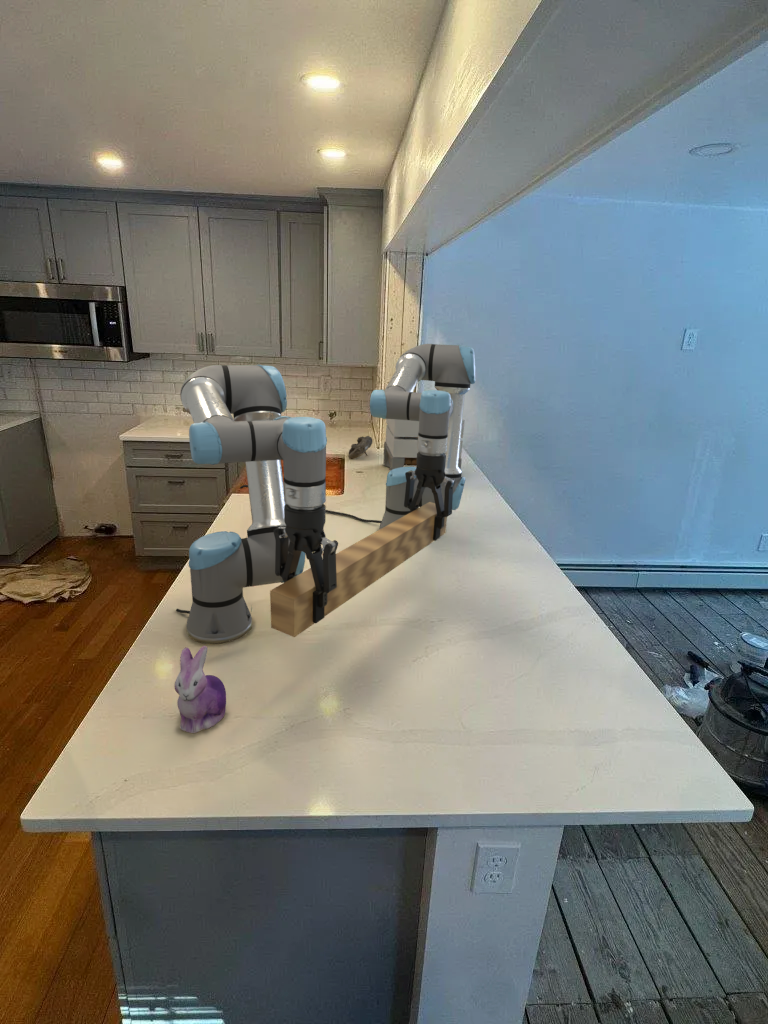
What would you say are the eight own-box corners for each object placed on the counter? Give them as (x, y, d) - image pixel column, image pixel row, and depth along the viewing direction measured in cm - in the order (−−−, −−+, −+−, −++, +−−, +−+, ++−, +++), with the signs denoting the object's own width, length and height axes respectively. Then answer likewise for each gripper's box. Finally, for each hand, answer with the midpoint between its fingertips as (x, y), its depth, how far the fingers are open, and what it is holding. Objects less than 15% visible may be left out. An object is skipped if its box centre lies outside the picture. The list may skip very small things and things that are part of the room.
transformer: (382, 463, 289) (386, 382, 275) (445, 464, 293) (451, 384, 279) (390, 482, 257) (394, 392, 243) (460, 483, 261) (468, 394, 247)
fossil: (348, 442, 312) (369, 426, 307) (359, 455, 315) (380, 440, 310) (341, 456, 292) (364, 439, 287) (353, 470, 295) (376, 454, 290)
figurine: (181, 742, 101) (174, 672, 96) (173, 708, 110) (166, 641, 105) (234, 727, 105) (230, 658, 100) (222, 695, 114) (218, 630, 109)
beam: (427, 528, 160) (429, 501, 157) (445, 533, 157) (448, 506, 155) (270, 627, 107) (269, 590, 105) (294, 637, 105) (294, 599, 102)
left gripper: (252, 498, 105) (256, 608, 113) (334, 520, 96) (332, 638, 104) (279, 488, 111) (281, 594, 119) (359, 509, 102) (355, 621, 110)
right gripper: (392, 449, 147) (388, 532, 154) (459, 461, 138) (451, 549, 146) (406, 444, 153) (402, 524, 161) (471, 455, 144) (463, 539, 152)
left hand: (305, 614), depth 111 cm, fingers closed on beam, 6 cm apart
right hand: (425, 535), depth 153 cm, fingers closed on beam, 6 cm apart
